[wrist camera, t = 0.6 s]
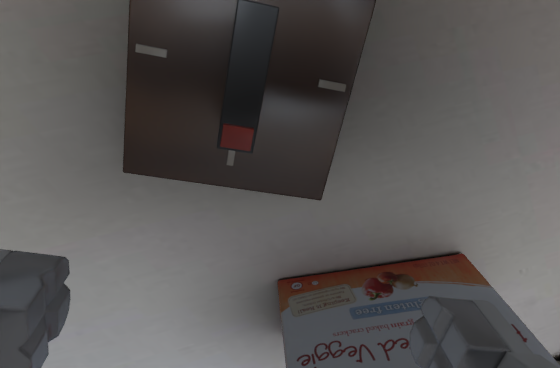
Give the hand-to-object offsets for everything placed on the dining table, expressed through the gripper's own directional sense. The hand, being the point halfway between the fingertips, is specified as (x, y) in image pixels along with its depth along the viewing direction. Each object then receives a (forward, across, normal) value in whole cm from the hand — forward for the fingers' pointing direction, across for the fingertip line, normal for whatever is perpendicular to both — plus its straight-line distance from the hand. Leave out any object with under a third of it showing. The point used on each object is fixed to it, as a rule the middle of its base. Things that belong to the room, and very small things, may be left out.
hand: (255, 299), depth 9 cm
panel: (+16, +1, -3) cm, 16 cm away
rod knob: (+13, +1, -3) cm, 13 cm away
